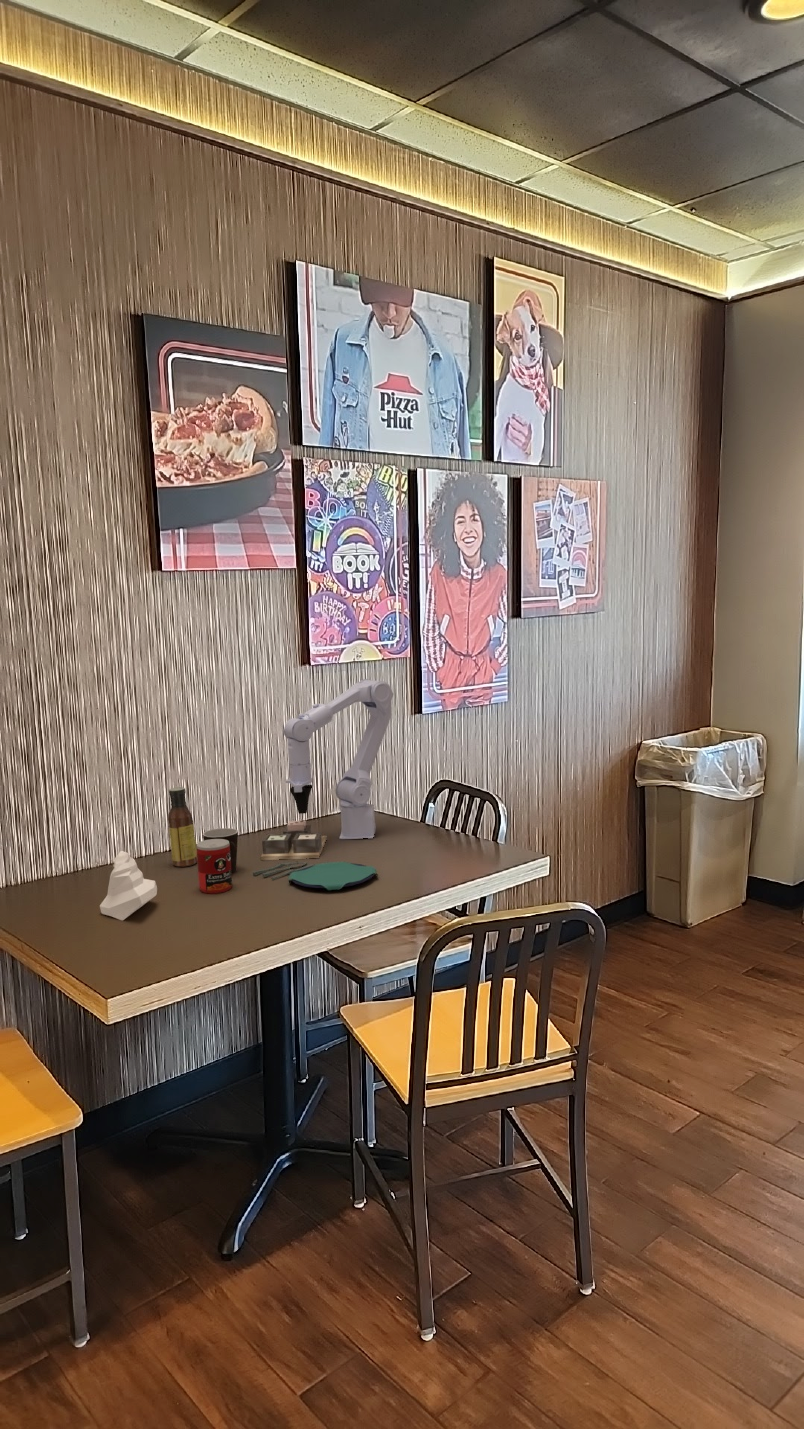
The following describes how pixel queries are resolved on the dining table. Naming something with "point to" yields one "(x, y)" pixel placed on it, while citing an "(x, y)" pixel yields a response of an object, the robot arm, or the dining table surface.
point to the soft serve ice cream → (126, 888)
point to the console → (293, 845)
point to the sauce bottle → (181, 830)
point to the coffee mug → (227, 835)
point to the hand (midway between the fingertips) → (302, 812)
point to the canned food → (214, 865)
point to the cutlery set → (324, 874)
